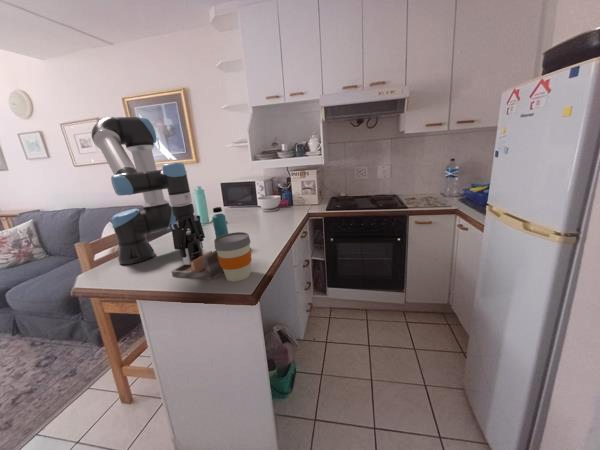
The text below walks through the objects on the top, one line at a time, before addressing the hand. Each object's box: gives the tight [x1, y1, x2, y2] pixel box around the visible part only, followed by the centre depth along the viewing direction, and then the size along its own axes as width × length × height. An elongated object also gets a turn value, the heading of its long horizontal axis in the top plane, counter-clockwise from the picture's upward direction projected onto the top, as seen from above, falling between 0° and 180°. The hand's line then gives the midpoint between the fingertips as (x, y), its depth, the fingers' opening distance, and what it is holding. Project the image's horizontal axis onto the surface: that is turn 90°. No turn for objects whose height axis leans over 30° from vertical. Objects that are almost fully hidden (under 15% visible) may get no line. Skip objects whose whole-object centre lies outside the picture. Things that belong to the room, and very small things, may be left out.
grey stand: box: [171, 249, 224, 281], centre depth 105 cm, size 19×14×9 cm
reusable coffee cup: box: [214, 231, 252, 282], centre depth 96 cm, size 13×13×15 cm
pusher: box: [191, 250, 213, 272], centre depth 105 cm, size 1×11×5 cm, turn 159°
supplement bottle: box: [186, 231, 204, 265], centre depth 105 cm, size 7×7×12 cm
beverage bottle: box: [211, 206, 229, 239], centre depth 130 cm, size 6×7×20 cm
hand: (194, 260), depth 107 cm, fingers closed on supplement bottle, 7 cm apart
